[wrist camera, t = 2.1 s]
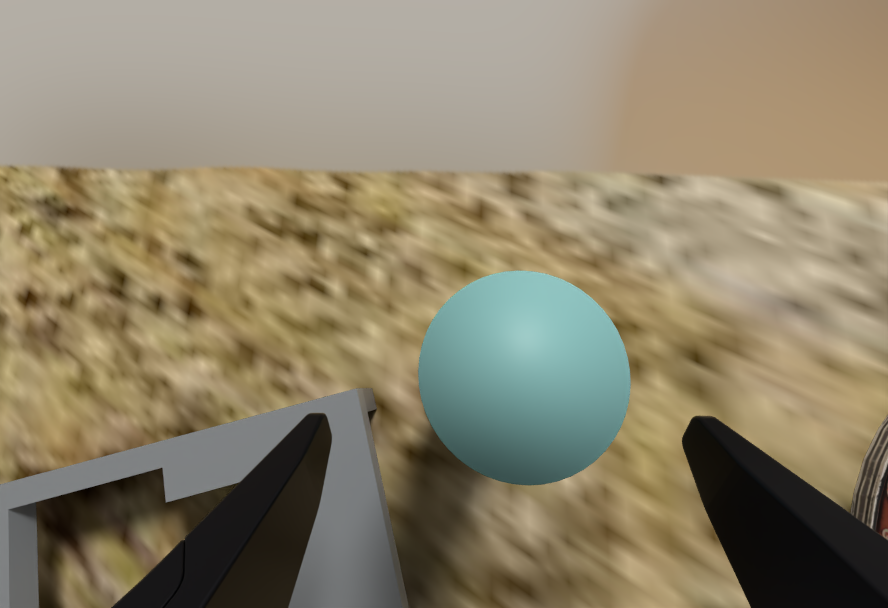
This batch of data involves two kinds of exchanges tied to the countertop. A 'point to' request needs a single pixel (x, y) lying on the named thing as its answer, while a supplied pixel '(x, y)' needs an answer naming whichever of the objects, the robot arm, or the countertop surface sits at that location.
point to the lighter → (874, 485)
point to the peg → (524, 377)
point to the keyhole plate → (227, 462)
